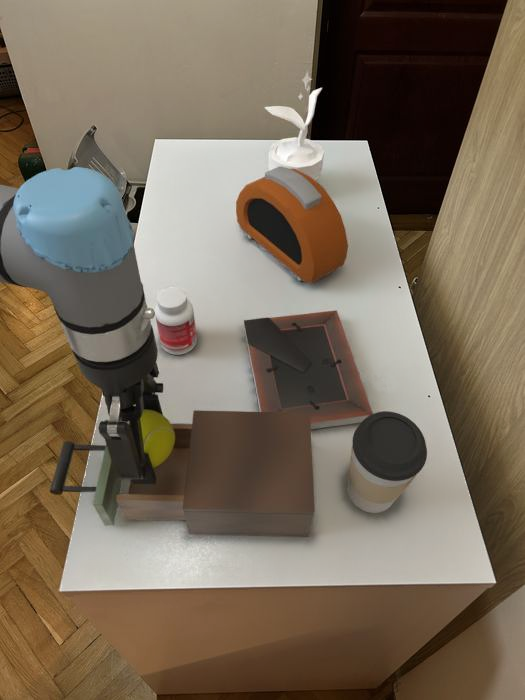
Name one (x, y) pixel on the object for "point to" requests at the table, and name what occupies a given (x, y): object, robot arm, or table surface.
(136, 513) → the drawer
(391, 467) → the coffee cup
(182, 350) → the pill bottle
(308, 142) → the potted plant
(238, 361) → the table surface
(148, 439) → the tennis ball
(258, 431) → the cabinet
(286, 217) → the alarm clock
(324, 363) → the picture frame
